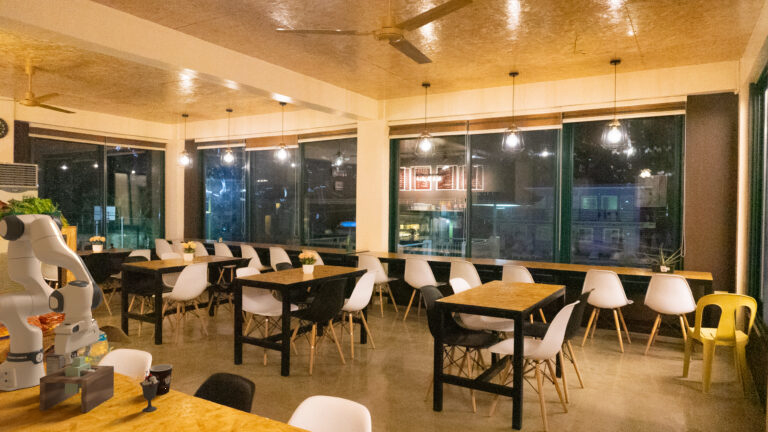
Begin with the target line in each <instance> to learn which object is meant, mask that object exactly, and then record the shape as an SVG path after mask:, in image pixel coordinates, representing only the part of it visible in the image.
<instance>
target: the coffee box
mask: <svg viewBox="0 0 768 432" xmlns="http://www.w3.org/2000/svg"><path fill="white" fill-rule="evenodd" d="M45 356H46V357H45V358H46V359H45V361H46V363H45V366H46V369H45V370H46V371H45V375H48V374H50V373H53V372H55V371H57V370H59V369H62V368H64V367H66V366H68V365H72V364H66V359H65V358H64V356H63V355H57V354H56V353H55V352H52V353H50V354H47V355H45ZM70 356H71V358H74V357H77V356H78V350H76V351H73V352H71V355H70Z"/></svg>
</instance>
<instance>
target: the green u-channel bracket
mask: <svg viewBox="0 0 768 432" xmlns="http://www.w3.org/2000/svg"><path fill="white" fill-rule="evenodd" d="M72 359H73V363H72V365H71V366H69V367H66V375H65V376H73V377H82V376H84V375H80V371H82V370H85V369H88V370H91V365H92V363H91V362H86V357H85V356H83V355H82V356H81V355H79V356H78V355H77V357H74V358H72ZM80 390H81V384H71V383H65V393H72V394H75V395H78V394H79V393H80Z"/></svg>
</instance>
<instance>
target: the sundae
mask: <svg viewBox="0 0 768 432" xmlns="http://www.w3.org/2000/svg"><path fill="white" fill-rule="evenodd" d="M145 373H146V375H145V377H144V379H143V380H142V382H140V383H139V385H140V386H141V390H142V396H143V398H144V399H145V400H146V401H147V406H146V407H143V408H142V410H141V411H142V413H151V412H156V410H157V409H158V408H157V407H156V406H153V405H152V401H153V400H154V399H155V398H156V396H157V395H156V390H157V384H158V383H159V382H160V381H159V380H158V378H159V377H158V376H157V375H155V376H154V375H152V374H150V373H149V371H148V370H147V371H145Z"/></svg>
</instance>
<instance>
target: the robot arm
mask: <svg viewBox="0 0 768 432" xmlns="http://www.w3.org/2000/svg"><path fill="white" fill-rule="evenodd" d="M62 230H63V224H62V221H61V219H60V217H59V216H57V215H53V214H39V213H29V214H17V215H15V214H9V215H5V216H3V217H2V218H1V219H0V237H1V238H2V239H3V240H5V241H8V243H7V250H6V251H7V252H6V253H7V255H6V257H7V272H8V278H9V279H10V280H11V281H13V282H15V283H17V284H21V286H23V288H24V290H25V291H17V292H8V293H3V294H0V323H1V324H2V325H4V327H5V328H6V330H7V331H8V335H9V344H10V345H9V346H10V347H9V348H10V350H9V351H8V352H5V353H4V357H6V359H5V360H4V361H3V362H1V364H0V391H5V392H10V391H15V390H19V389H26V388H31V387H32V388H33V387H34V386H38V385H39V386H40V378H41V377H44V376H46V371H45V368H44V367H45V366H44V356H45V349H44V347H43V331H42V328H41V327H39V326H38V325H34V324H32V323H29V322H28V318H30V317H37V316H44V315H47V314H50V313H53V312H54V313H56V314H65V315H64V319H63V321H62V322H60V324H59V325H57V326H55V327H54V333H55V334H56V335H55V337H54V347H53V349H54V353H56V354H57V355H63V356H64V358H65V359H66V364H72V363H73V359H72V358H71V356H70V355H71V352H73V351H76V350H77V351H78V350H80V349H83V348H85V349H84V351H83V352H82V353H83V355H82V356H85V358H86V357H90V356H91V351H92V348H93V345H94V344H95V343H97V342H99V341H100V328H99V325H98V321H97V320H96V319H95V318H93V314H92V310H96V309H97V308H99V306H100V305H101V304H102V302H103V299H104V293H103V291H102V289H101V288H100V286H99V285H98V283H96V281H95V280H94V278H93V277H92V275H91V273H90V271H89V269H88V267H87V266H86V264H85V262H84V260H83V259H82V257H81V256H80V254H79V253H78V252H76V251H74V250H73V249H71V248H70V246H68V245H67V243H66V241H65V239H64V237H63V233H62ZM41 263H43V264H46V265H49V266H55V267H59V268H63V269H65V270H68V271H69V272H70V273H71V274H72V275H73V276H74V278H75V280H71V281H68V282H67V283H66V285H65V286H63V287H61V288H58V289H55V288H52V286H50V285H49V284H48V283H47V282H46V281H45V279H44V277H43V274H42V268H41Z"/></svg>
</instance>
